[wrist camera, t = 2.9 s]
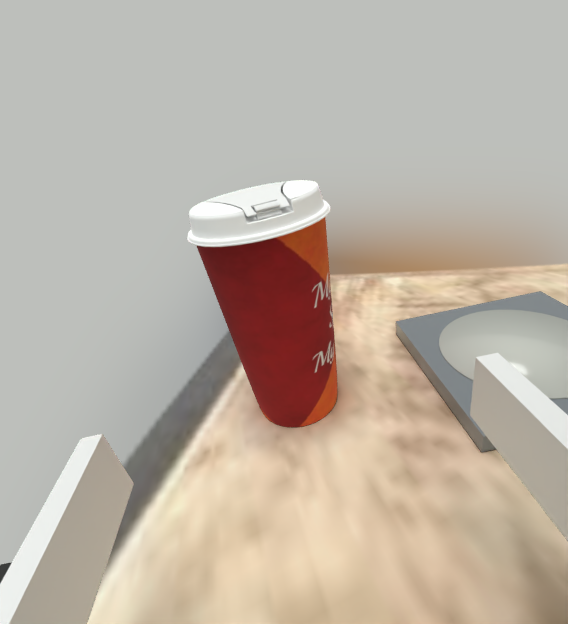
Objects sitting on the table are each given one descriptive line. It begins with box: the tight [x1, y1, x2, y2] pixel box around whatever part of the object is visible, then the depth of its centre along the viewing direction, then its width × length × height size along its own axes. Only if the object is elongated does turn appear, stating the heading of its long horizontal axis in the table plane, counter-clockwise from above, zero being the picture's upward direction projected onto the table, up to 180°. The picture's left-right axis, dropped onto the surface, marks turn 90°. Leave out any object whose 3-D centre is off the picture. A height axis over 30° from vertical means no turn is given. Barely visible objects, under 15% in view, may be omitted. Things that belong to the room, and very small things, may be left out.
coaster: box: [396, 291, 568, 452], centre depth 23 cm, size 12×12×1 cm
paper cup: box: [187, 180, 337, 427], centre depth 21 cm, size 8×8×14 cm
